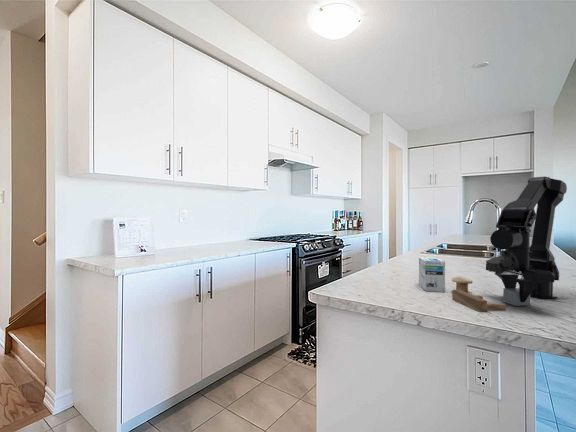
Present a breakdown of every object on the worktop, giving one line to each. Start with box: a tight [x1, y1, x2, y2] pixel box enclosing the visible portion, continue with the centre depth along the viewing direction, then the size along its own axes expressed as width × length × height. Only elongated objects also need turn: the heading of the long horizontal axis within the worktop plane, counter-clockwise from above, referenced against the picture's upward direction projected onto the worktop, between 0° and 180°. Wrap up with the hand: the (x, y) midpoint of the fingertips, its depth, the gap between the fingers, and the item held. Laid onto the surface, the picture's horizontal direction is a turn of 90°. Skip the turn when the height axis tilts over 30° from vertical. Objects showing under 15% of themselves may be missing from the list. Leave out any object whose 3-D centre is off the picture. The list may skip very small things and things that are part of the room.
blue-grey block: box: [502, 287, 531, 307], centre depth 91 cm, size 5×4×4 cm
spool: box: [451, 276, 473, 295], centre depth 102 cm, size 6×6×5 cm
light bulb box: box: [418, 256, 446, 293], centre depth 110 cm, size 11×7×11 cm, turn 168°
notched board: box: [451, 289, 507, 313], centre depth 90 cm, size 8×12×3 cm
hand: (516, 299), depth 91 cm, fingers closed on blue-grey block, 4 cm apart
